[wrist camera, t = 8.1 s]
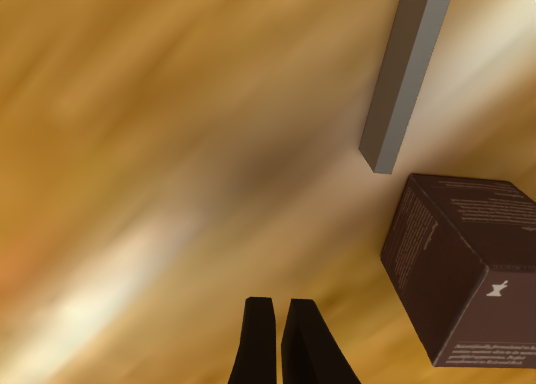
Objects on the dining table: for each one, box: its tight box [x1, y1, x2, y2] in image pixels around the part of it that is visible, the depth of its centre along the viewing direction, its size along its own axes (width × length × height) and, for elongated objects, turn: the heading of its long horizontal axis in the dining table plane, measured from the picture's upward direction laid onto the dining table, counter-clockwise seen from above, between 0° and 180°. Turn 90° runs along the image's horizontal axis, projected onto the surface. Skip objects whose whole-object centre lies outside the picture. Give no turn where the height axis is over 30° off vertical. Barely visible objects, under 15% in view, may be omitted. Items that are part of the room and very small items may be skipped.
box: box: [381, 175, 536, 369], centre depth 18 cm, size 6×6×7 cm
